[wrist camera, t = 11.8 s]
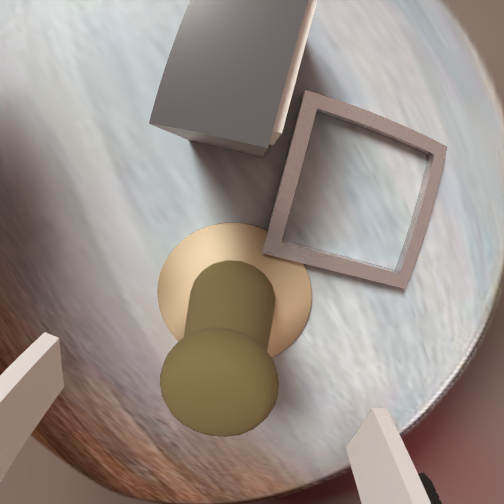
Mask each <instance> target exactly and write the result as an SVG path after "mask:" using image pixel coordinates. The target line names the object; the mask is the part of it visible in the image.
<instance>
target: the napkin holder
mask: <svg viewBox="0 0 504 504" xmlns="http://www.w3.org/2000/svg"><path fill="white" fill-rule="evenodd" d="M316 3H317V0H190V2H189V5H188V7H187V9H186V12H185V14H184V17H183V20H182V22H181V25H180V27H179V30H178V33H177V35H176V38H175V41H174V44H173V46H172V49H171V52H170V55H169V58H168V61H167V64H166V67H165V70H164V73H163V77H162V80H161V83H160V86H159V90H158V93H157V96H156V100H155V103H154V107H153V111H152V114H151V118H150V122H149V124H151V125H154V126H156V127H159V128H161V129H164V130H166V131H168V132H171V133H173V134H175V135H178V136H180V137H182V138H185V139H187V140H191V141H195V142H200V143H205V144H210V145H214V146H219V147H223V148H228V149H232V150H236V151H240V152H245V153H249V154H253V155H257V156H261V157H263V156H264V154H265V153H266V151H267V149H268V147H269V145H274V143H275V142H276V141H277V139H278V138H279V137H280V135H281V134H282V131H283V128H284V124H285V120H286V116H287V113H288V109H289V105H290V101H291V97H292V94H293V90H294V86H295V82H296V79H297V75H298V71H299V67H300V63H301V60H302V56H303V52H304V48H305V45H306V41H307V37H308V33H309V30H310V26H311V22H312V18H313V15H314V11H315V7H316Z"/></svg>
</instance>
